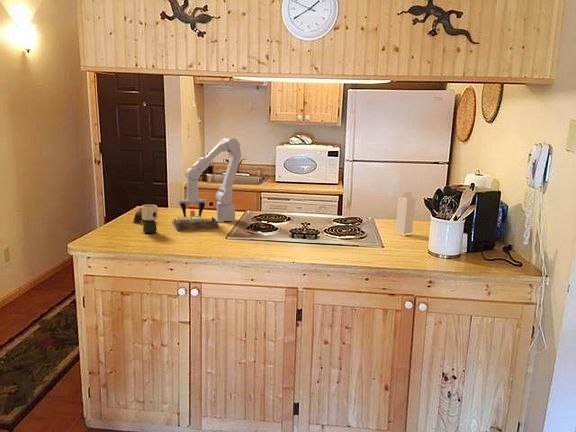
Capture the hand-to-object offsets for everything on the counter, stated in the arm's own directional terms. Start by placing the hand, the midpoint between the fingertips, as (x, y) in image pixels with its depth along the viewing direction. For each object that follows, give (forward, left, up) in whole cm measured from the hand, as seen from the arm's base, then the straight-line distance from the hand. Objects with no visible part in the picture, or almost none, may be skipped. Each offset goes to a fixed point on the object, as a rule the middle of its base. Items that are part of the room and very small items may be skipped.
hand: (192, 217), depth 260 cm
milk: (-99, +45, -3) cm, 109 cm away
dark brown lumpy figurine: (+24, -6, -3) cm, 25 cm away
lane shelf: (0, +6, -3) cm, 7 cm away
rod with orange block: (0, +6, -2) cm, 6 cm away
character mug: (+23, +15, -3) cm, 28 cm away
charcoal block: (+6, +10, -3) cm, 12 cm away
